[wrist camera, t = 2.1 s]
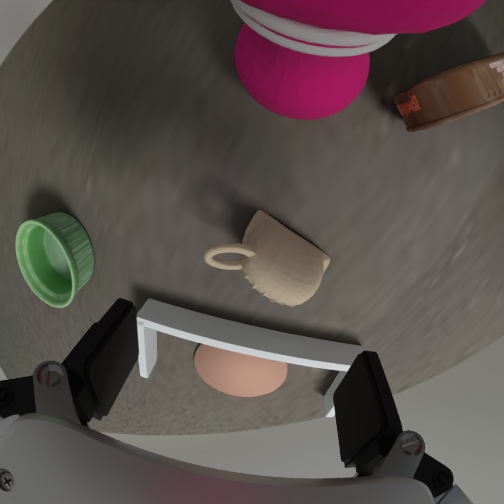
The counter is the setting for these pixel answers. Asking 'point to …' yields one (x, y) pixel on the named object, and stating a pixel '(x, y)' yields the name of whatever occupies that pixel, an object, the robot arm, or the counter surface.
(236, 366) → the mat
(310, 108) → the pepper mill
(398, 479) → the robot arm
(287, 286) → the beige cup
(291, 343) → the white display riser
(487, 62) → the tin
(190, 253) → the counter surface
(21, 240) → the ramekin
